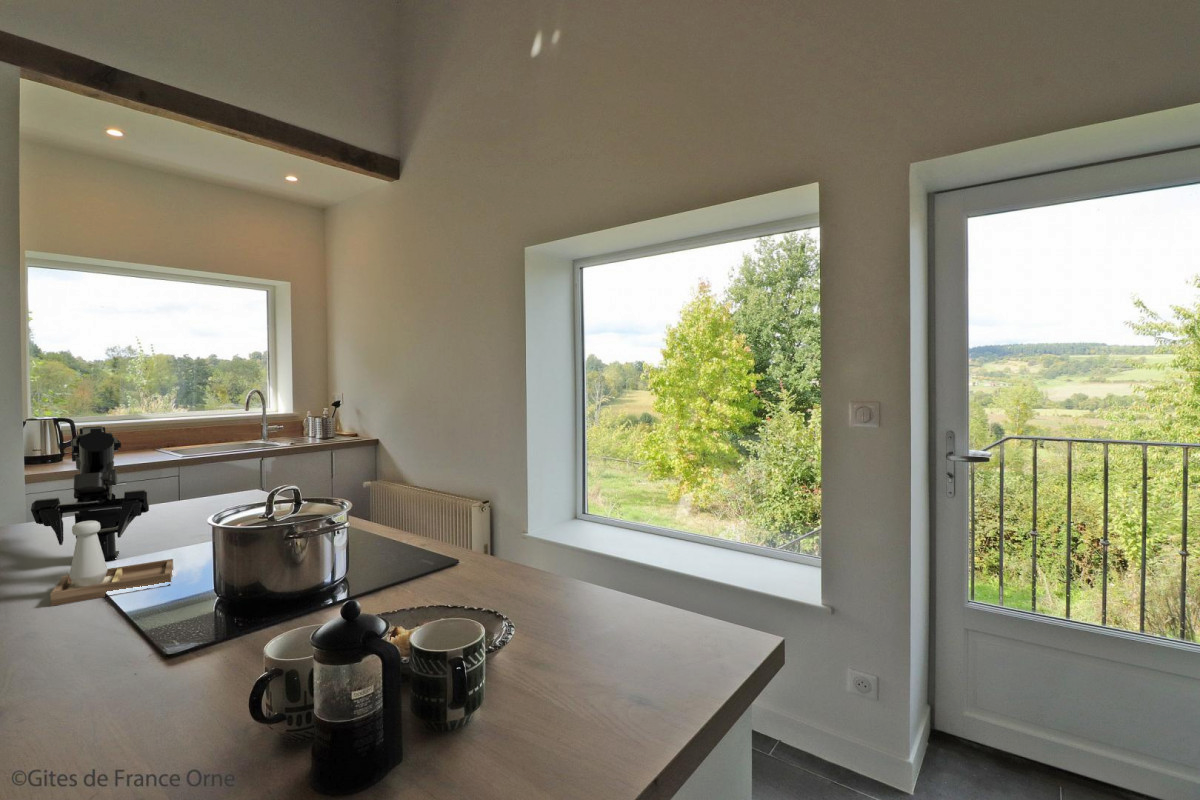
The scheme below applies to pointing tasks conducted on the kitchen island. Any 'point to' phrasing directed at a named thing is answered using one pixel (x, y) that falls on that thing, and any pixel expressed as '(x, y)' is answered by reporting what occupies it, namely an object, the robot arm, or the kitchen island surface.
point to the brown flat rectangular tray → (113, 581)
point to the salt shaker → (87, 555)
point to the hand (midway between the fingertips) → (90, 540)
